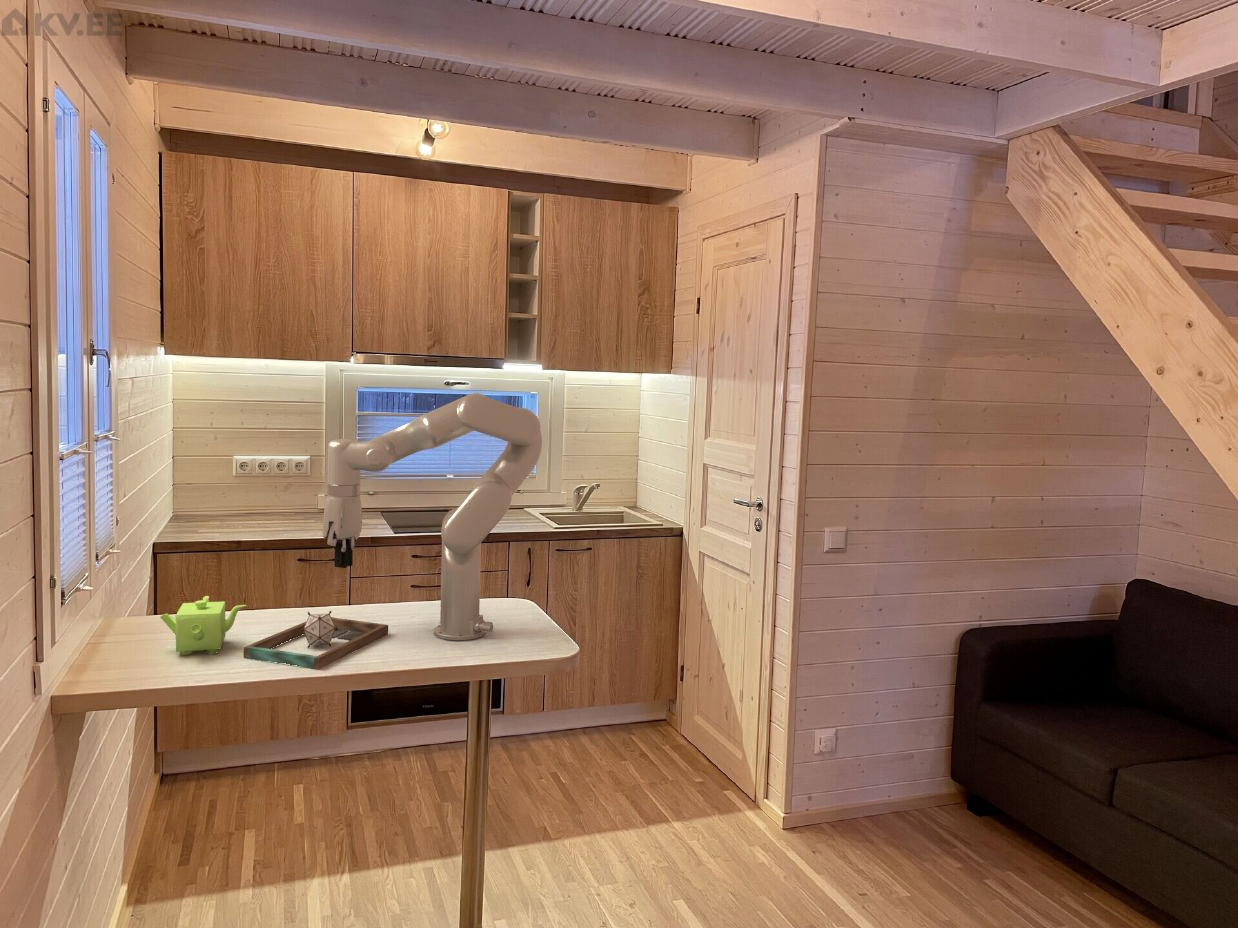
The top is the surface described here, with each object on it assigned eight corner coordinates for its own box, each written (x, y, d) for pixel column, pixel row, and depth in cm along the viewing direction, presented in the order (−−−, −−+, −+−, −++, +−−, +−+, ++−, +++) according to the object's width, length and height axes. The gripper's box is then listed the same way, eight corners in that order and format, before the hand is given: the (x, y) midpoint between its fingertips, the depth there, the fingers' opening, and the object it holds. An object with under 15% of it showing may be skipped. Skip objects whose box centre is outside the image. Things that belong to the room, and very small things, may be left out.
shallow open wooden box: (388, 634, 223) (388, 624, 223) (318, 669, 197) (318, 658, 196) (320, 625, 229) (320, 615, 229) (243, 657, 202) (243, 646, 202)
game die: (323, 663, 212) (323, 637, 205) (292, 647, 213) (291, 621, 206) (346, 636, 218) (347, 610, 212) (315, 621, 219) (315, 595, 213)
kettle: (207, 635, 217) (206, 589, 216) (250, 645, 211) (250, 598, 210) (151, 652, 204) (150, 603, 202) (195, 663, 198) (195, 613, 196)
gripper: (349, 486, 226) (348, 558, 228) (310, 493, 212) (310, 571, 214) (375, 488, 224) (374, 561, 226) (338, 496, 209) (338, 574, 211)
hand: (343, 565), depth 220 cm, fingers closed
